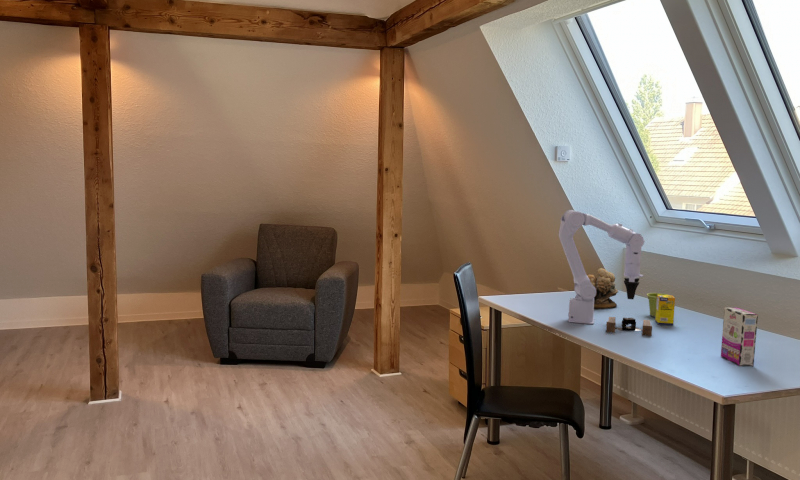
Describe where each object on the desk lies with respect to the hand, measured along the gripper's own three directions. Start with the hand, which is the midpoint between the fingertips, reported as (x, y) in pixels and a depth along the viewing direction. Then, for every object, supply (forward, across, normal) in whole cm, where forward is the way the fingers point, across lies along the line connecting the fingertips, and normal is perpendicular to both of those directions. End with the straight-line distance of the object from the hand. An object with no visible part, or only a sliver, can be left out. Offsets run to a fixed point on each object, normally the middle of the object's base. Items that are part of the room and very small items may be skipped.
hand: (630, 297), depth 269 cm
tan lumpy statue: (+10, +28, +13) cm, 33 cm away
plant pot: (+10, +18, -11) cm, 23 cm away
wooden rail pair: (+10, -13, 0) cm, 16 cm away
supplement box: (+10, +4, -13) cm, 17 cm away
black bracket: (+11, -12, 0) cm, 16 cm away
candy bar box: (+10, -44, -33) cm, 56 cm away
